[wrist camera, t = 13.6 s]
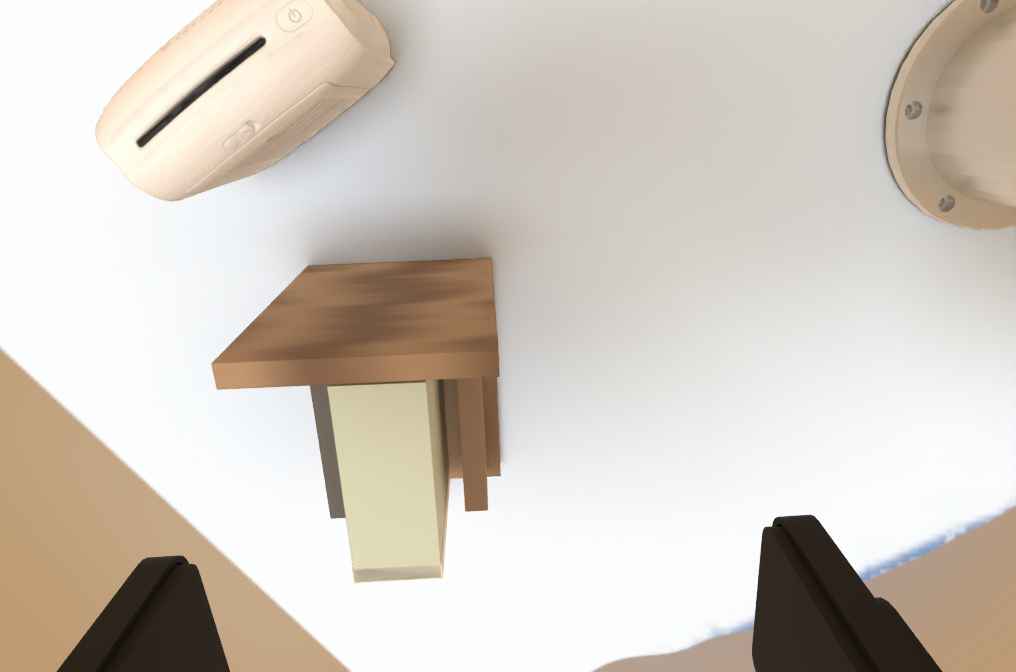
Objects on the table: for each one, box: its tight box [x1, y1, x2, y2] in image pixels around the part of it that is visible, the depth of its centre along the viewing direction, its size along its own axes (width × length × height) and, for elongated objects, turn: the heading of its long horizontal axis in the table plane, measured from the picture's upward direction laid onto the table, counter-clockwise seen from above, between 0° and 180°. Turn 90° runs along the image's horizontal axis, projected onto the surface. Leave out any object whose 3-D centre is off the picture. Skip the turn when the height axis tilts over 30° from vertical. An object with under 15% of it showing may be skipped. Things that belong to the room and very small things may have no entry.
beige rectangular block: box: [327, 379, 451, 583], centre depth 32 cm, size 4×10×9 cm, turn 1°
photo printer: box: [95, 0, 395, 201], centre depth 26 cm, size 10×4×12 cm, turn 125°
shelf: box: [212, 258, 501, 518], centre depth 31 cm, size 10×13×14 cm
